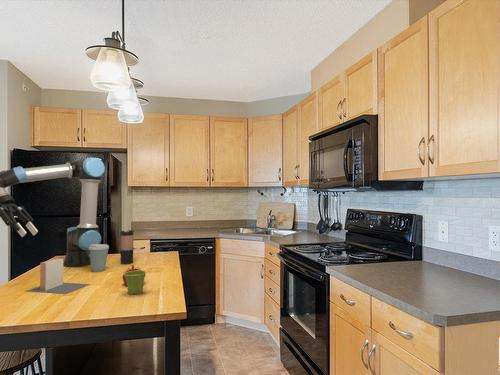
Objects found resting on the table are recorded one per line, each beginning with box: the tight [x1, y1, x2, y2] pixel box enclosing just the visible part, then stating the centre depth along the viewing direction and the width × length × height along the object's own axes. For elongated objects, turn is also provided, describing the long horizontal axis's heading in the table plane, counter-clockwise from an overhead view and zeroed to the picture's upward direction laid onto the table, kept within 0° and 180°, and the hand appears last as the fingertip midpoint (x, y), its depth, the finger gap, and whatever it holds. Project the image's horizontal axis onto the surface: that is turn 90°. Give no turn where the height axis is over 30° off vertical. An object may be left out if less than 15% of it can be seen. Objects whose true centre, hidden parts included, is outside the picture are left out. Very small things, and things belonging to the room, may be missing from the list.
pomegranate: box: [121, 264, 143, 287], centre depth 160 cm, size 10×10×9 cm
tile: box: [39, 258, 64, 290], centre depth 153 cm, size 10×3×12 cm, turn 168°
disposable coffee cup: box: [88, 243, 110, 273], centre depth 188 cm, size 11×11×15 cm
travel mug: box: [119, 230, 134, 265], centre depth 208 cm, size 8×8×20 cm
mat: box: [25, 281, 92, 295], centre depth 152 cm, size 16×21×1 cm
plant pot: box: [123, 270, 147, 295], centre depth 146 cm, size 9×9×9 cm
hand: (30, 234), depth 157 cm, fingers open, 6 cm apart
